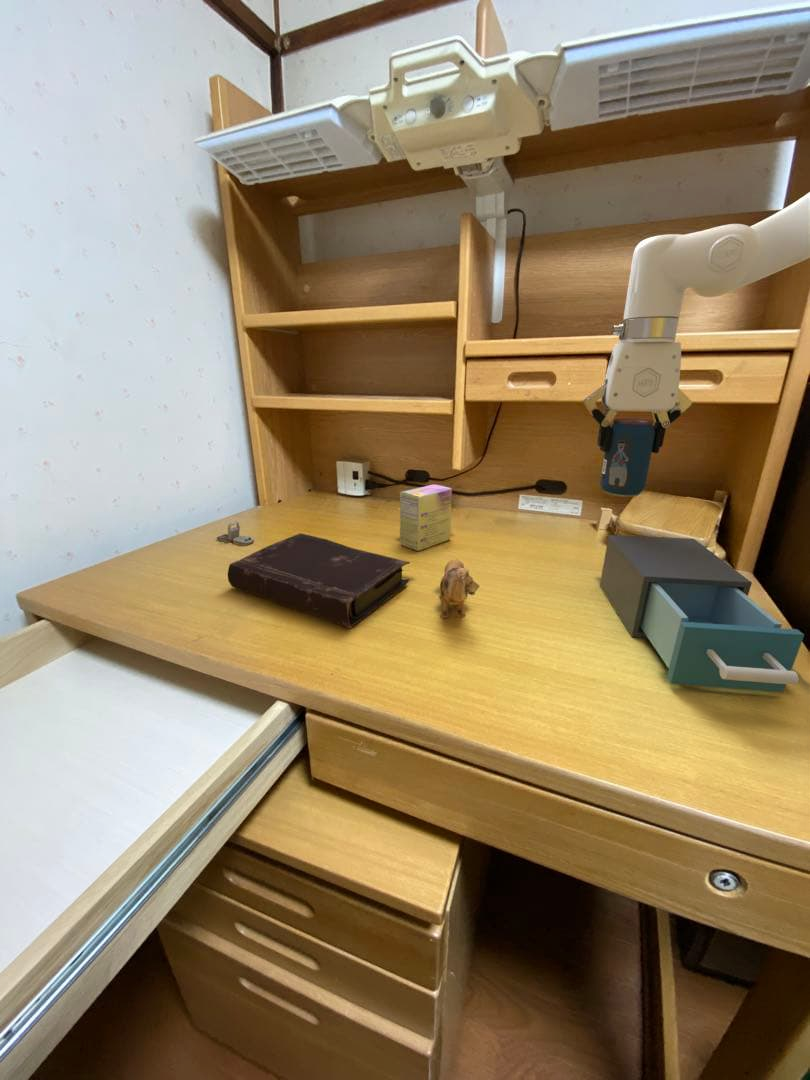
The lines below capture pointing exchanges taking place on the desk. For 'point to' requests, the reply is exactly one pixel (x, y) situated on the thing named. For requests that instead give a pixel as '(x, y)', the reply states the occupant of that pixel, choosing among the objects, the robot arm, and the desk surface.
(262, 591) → the diary
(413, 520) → the box
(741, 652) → the teal drawer
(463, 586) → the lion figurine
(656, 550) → the drawer cabinet casing
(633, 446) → the soda can
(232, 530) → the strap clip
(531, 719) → the desk surface
